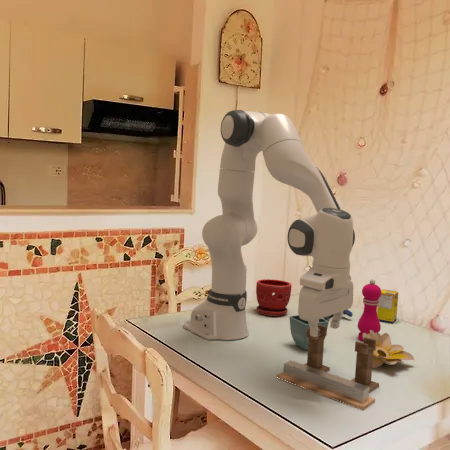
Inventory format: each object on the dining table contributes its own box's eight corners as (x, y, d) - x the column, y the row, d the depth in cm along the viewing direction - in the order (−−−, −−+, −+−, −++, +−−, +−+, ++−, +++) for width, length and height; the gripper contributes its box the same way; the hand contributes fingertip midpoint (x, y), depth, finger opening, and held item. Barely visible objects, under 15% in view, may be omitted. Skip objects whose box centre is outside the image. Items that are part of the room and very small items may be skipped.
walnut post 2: (346, 386, 124) (349, 340, 123) (357, 379, 129) (360, 335, 128) (368, 393, 121) (372, 347, 119) (378, 386, 125) (382, 341, 124)
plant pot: (291, 318, 180) (293, 286, 179) (255, 317, 181) (257, 285, 179) (287, 308, 193) (289, 278, 192) (254, 307, 194) (255, 277, 192)
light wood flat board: (276, 377, 128) (276, 374, 127) (289, 371, 132) (289, 368, 132) (363, 410, 112) (363, 406, 112) (374, 401, 116) (375, 398, 116)
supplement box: (396, 320, 185) (398, 291, 183) (392, 324, 179) (394, 294, 178) (380, 317, 188) (382, 288, 186) (376, 320, 183) (378, 291, 181)
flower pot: (304, 353, 146) (305, 324, 145) (287, 344, 153) (288, 315, 152) (327, 350, 150) (329, 321, 149) (309, 340, 158) (311, 313, 157)
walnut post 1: (298, 369, 134) (301, 327, 132) (310, 363, 138) (313, 322, 137) (318, 376, 130) (321, 332, 128) (329, 370, 134) (332, 327, 133)
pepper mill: (380, 344, 157) (385, 282, 154) (357, 342, 158) (361, 280, 156) (378, 337, 164) (383, 278, 161) (355, 335, 165) (360, 276, 163)
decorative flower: (385, 373, 129) (382, 334, 131) (352, 368, 139) (350, 331, 140) (420, 366, 138) (417, 330, 139) (387, 362, 147) (385, 328, 148)
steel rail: (283, 374, 128) (284, 363, 128) (289, 371, 130) (290, 360, 130) (362, 403, 114) (363, 390, 113) (368, 399, 116) (369, 386, 115)
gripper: (339, 269, 129) (334, 320, 130) (295, 278, 113) (290, 336, 115) (362, 273, 125) (356, 326, 126) (319, 284, 109) (314, 344, 111)
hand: (324, 331), depth 121 cm, fingers open, 8 cm apart
